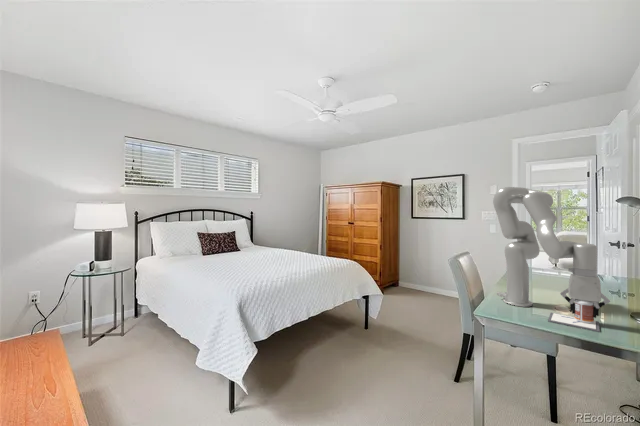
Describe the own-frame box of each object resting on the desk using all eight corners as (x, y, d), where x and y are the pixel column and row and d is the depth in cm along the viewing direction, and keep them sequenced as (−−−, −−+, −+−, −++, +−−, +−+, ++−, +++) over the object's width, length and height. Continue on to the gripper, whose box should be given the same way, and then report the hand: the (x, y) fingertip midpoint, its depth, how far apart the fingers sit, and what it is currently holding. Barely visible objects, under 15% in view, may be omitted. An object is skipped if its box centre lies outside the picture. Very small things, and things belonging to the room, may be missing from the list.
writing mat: (547, 321, 125) (547, 319, 125) (550, 313, 134) (550, 311, 134) (599, 332, 114) (599, 330, 114) (598, 322, 123) (598, 320, 123)
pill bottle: (595, 321, 122) (596, 295, 122) (591, 324, 119) (591, 297, 119) (576, 316, 128) (577, 291, 127) (571, 319, 124) (572, 294, 124)
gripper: (557, 271, 126) (557, 312, 126) (614, 277, 114) (613, 322, 115) (558, 268, 132) (558, 307, 132) (612, 274, 120) (612, 317, 120)
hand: (583, 314), depth 123 cm, fingers closed on pill bottle, 6 cm apart
